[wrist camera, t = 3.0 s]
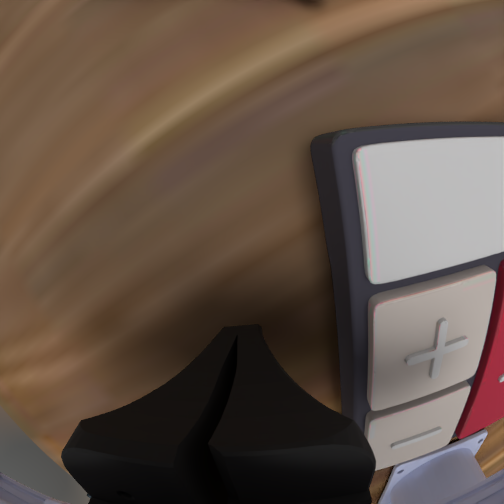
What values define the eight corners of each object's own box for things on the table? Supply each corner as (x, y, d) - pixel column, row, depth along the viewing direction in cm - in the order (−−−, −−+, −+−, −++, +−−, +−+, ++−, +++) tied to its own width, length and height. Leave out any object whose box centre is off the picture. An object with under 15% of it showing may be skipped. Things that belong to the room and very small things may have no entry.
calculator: (353, 484, 11) (335, 128, 6) (339, 424, 15) (306, 136, 10) (523, 411, 10) (578, 129, 5) (492, 371, 14) (515, 124, 9)
